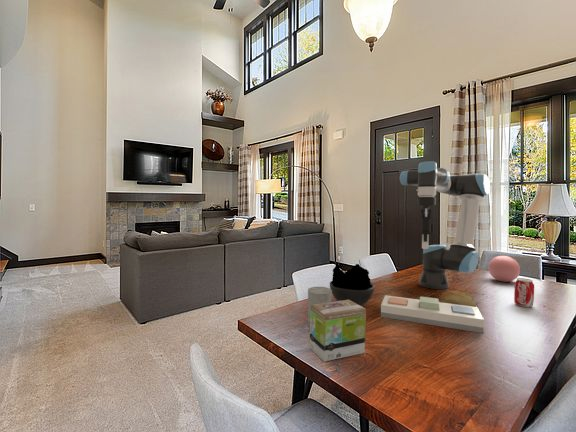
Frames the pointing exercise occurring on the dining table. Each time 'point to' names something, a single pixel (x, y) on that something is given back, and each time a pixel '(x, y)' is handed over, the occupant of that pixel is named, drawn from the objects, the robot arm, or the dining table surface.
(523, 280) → the soda can
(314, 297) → the gray cylinder
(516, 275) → the balloon
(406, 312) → the console
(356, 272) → the coal bowl
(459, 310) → the button blue
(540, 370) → the dining table surface
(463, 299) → the bread roll
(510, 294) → the dining table surface
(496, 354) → the dining table surface
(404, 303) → the button terracotta
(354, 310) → the tea box
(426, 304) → the button sage
